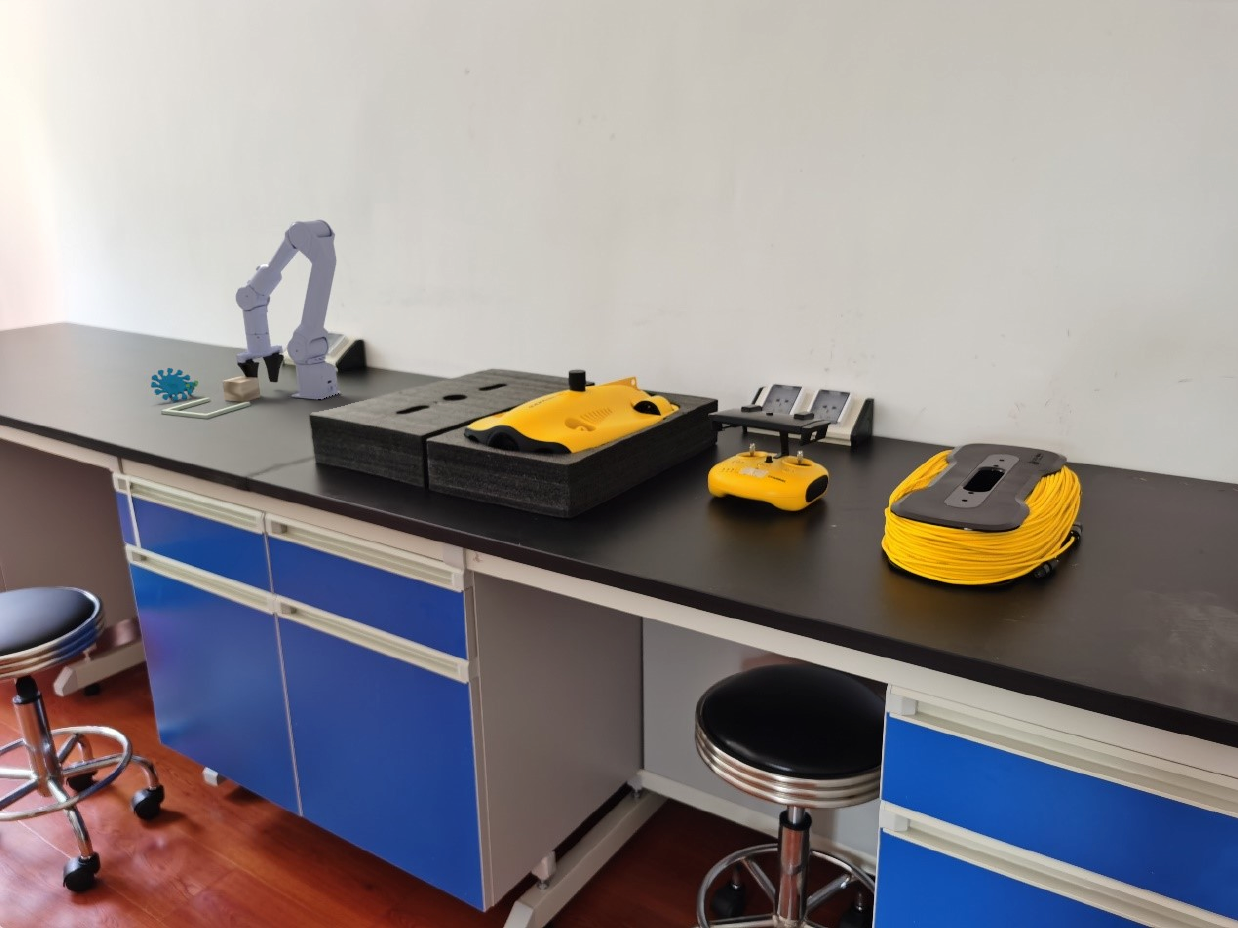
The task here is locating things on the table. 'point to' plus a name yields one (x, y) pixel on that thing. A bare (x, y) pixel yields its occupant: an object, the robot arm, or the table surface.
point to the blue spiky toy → (173, 385)
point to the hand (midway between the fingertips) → (264, 384)
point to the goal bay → (199, 415)
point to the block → (241, 389)
